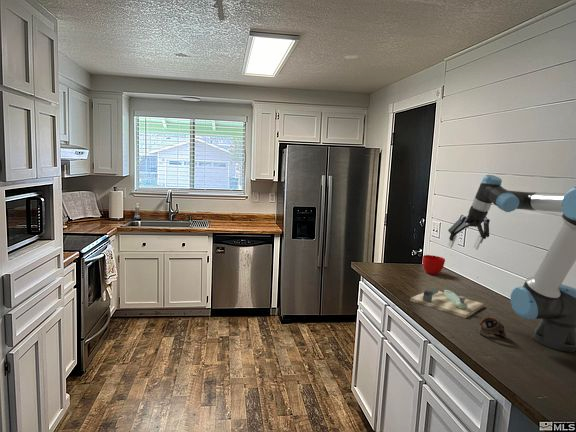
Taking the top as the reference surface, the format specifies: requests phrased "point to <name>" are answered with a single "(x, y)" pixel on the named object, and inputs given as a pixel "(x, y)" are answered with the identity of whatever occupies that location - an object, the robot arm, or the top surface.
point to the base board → (449, 304)
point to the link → (455, 299)
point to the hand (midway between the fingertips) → (462, 247)
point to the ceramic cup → (433, 264)
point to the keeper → (429, 294)
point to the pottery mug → (491, 326)
